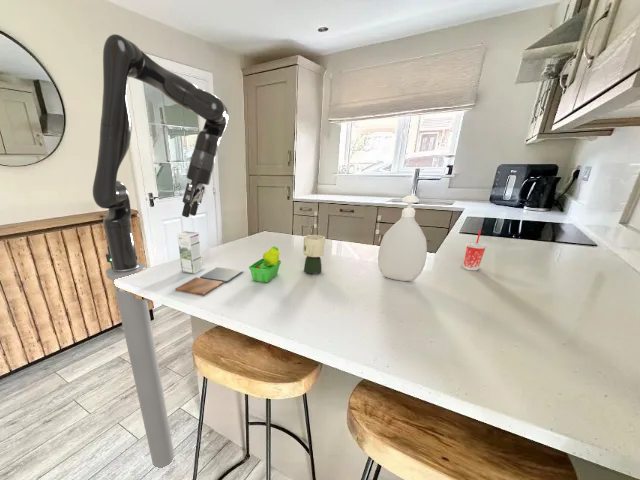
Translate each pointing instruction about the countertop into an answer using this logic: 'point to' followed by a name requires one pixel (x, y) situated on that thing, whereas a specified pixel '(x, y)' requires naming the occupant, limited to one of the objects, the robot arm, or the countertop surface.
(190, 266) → the syrup box
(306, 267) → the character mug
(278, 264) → the fruit basket
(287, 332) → the countertop surface
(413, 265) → the soap bottle
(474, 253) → the beverage cup
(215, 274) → the slate pad
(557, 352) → the countertop surface
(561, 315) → the countertop surface
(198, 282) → the wooden coaster
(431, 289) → the countertop surface
